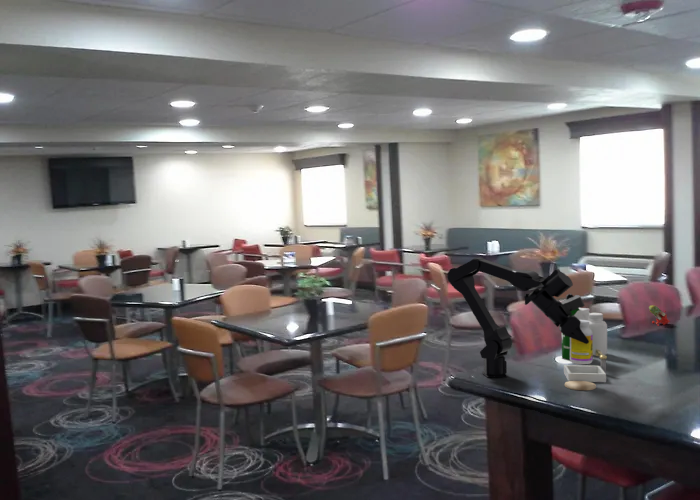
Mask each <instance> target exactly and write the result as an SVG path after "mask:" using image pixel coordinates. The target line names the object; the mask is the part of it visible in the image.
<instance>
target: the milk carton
mask: <svg viewBox="0 0 700 500" xmlns="http://www.w3.org/2000/svg"><path fill="white" fill-rule="evenodd" d="M570 312H571V313H572V314H571V315H574V316H575V317H577V318H578V319H579V320H587V321H589V313H590V308H588V307H587V308H586V307H581V308H578V309H575V310H573V311H570ZM588 328H589V326H588ZM561 359H562V360H563V359H564V360H570V337H568V336H565V335H564V334H563V333H562V332H561Z"/></svg>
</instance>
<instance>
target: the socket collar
mask: <svg viewBox="0 0 700 500" xmlns="http://www.w3.org/2000/svg"><path fill="white" fill-rule="evenodd" d="M563 374H564V375H565V377H566V379H567V382H568V381H587V382H591V383H606V382H607V359H600V365H588V364H576V365H575V364H574V365H573V364H570V365H569V364H564V365H563Z"/></svg>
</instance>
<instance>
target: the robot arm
mask: <svg viewBox="0 0 700 500" xmlns="http://www.w3.org/2000/svg"><path fill="white" fill-rule="evenodd" d="M480 272H481V273H482V274H483V273H484V274H487V275H489V276H492V277H494V278H497V279H501V280H504V281H506V282H508V283H510V285H512V286H513V287H515V288H517V289H518V290H520V291H522V292H527V291H531V290H533V291H532V292H530V293H525V295H524V305H525V306H527V305H528V304H529V303H531V302H532V304H533V305H534V306H535V307H536V308H538V309H539V310H540V312H542V313H543V314H544V315H545V316H546V317H547V318H548V319H549V320H550V321H551V322H552V323H553V325H555V327H557V328H558V329H559V332H561V334H562V333H563V334H564V335H565V336H568V337H571V338H573V339H576V340H578V341H580V342H583V343H585V344H588V343H589V340H588V339H587V338H586V336H585V335H584V333H583V332H582V330H581V329H580V324H581V321H580V320H579V319H578V318H577V317H575V316H574V315H571V314H572V313H571V312H570V311H573V310H575V309H578V308H585V303H584V301H583V299H582V297H581V296H580V295H579V294H575V295H573V294H572V293H568V294H566V296H565V300H564V301H560V300H559V299H557V298H559V297H560V296H562V295H563V294H564V293H565V292H567V291H568V290H569V289H570V288H572V287H573V285H574V283H573V281H572V279H571V278H570V276H568V275H567V274H565V272H562V271H561V270H560V269H559V268H558V269H557V268H556V269H554V270H553V271H552V272H551V274H549V275H548V276H547V277H545V276H540V275H539V273H538V272H537V271H534V270H525V269H516V268H512V267H508V266H505V265H502V264H499V263H497V262H494V261H491V260H487V259H485V258H483V257H474V258H473V259H471V260H469V261H468V262H465V263H464V264H461V265H459V266H458V267H452V268H451V269H449V270H448V272H447V275H446V276H447V277H446V279H447V281H448V282H449V285H451V286H452V287H453V289H455V291H457V292H458V293H460V294H461V295H462V297H463V299H464V300H465V302H466V304H467V305H468V308H469V309H470V311H471V312H472V314H473V316H474V317H475V320H476V321H477V323H478V324H479V327H481V329H482V331H483V340H484V344H485V346H484V347H483V348H482V349H481V350H480V352H479V354H480V357H481V359H483V370H482V371H481V372H482V374H483V375H484V376H485V377H487V378H503V377H504V378H507V377H508V375H507V373H508V372H507V371H508V370H507V366H508V365H507V360H506V357H505V356H507V355H508V352H509V350H510V349H511V348H512V346H513V340H512V335H511V334H510V333H509V332H508V329H507V327H506V326H502V327H500V326H499V325H498V324H497V322H495V320H494V318H493V316H492V315H491V312H490V311H489V309H488V308H487V305H486V304H485V302H484V300H483V299H482V297H481V296H480V294H479V293H478V291H477V289H476V286H475V285H476V284H475V278H474V276H476V275H477V274H478V273H480ZM539 287H540V288H539Z"/></svg>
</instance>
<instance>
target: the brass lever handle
mask: <svg viewBox="0 0 700 500" xmlns="http://www.w3.org/2000/svg"><path fill="white" fill-rule="evenodd" d="M595 357H599V359H600V360H601V359H606V360H608V358H607V357H608V356H607V355H603V354H602V352H601V351H600V350H599V349H596V356H595Z"/></svg>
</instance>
